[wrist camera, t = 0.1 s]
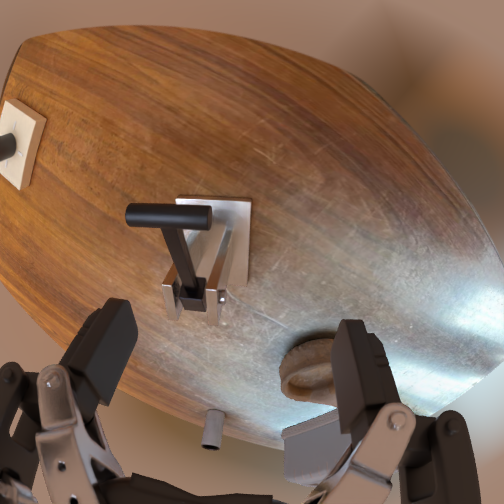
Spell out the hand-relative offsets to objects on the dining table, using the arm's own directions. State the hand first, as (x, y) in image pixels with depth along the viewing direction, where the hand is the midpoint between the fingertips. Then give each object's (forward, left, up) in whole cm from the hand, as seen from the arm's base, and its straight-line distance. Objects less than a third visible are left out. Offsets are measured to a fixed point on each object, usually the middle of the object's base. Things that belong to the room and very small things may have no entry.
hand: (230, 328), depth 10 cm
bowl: (+31, +14, -24) cm, 42 cm away
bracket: (+9, -5, -24) cm, 26 cm away
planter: (+58, -7, -24) cm, 63 cm away
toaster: (+67, +34, -24) cm, 79 cm away
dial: (-7, -38, -21) cm, 44 cm away
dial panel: (-7, -38, -24) cm, 45 cm away
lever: (+4, -5, -12) cm, 13 cm away
